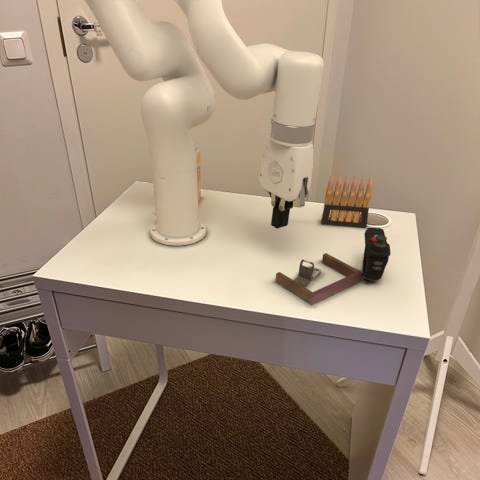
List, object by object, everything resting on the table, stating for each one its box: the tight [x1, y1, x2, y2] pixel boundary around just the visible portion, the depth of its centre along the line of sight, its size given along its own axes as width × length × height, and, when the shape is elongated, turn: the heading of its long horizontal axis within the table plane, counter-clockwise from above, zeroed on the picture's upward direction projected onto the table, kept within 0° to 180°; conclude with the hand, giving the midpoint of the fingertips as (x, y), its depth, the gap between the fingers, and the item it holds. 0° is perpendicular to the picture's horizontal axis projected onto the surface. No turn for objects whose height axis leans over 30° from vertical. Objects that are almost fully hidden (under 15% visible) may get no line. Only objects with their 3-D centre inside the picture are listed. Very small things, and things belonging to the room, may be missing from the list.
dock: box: [275, 252, 364, 306], centre depth 92 cm, size 10×14×2 cm
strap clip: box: [293, 259, 322, 288], centre depth 91 cm, size 8×3×4 cm, turn 146°
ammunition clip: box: [320, 174, 373, 229], centre depth 110 cm, size 11×2×12 cm, turn 81°
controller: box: [361, 227, 392, 282], centre depth 92 cm, size 4×12×10 cm, turn 171°
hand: (279, 225), depth 95 cm, fingers closed
